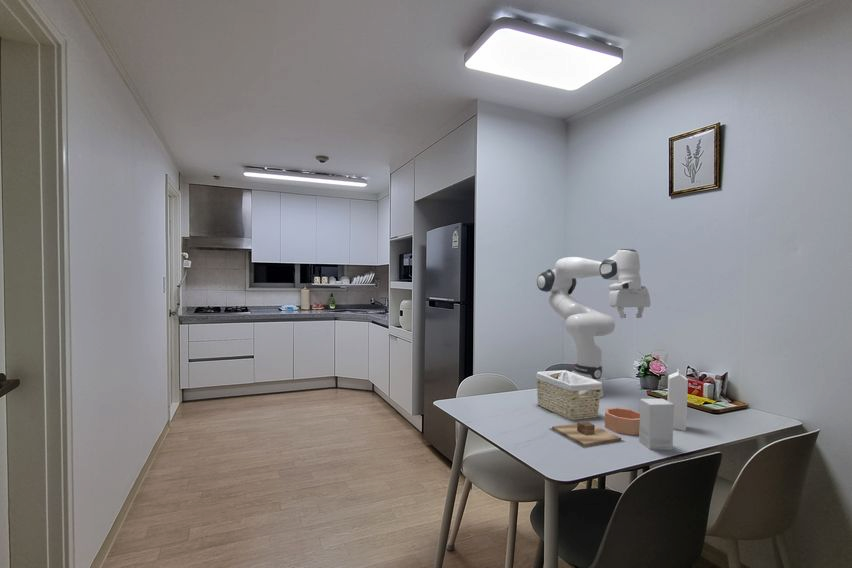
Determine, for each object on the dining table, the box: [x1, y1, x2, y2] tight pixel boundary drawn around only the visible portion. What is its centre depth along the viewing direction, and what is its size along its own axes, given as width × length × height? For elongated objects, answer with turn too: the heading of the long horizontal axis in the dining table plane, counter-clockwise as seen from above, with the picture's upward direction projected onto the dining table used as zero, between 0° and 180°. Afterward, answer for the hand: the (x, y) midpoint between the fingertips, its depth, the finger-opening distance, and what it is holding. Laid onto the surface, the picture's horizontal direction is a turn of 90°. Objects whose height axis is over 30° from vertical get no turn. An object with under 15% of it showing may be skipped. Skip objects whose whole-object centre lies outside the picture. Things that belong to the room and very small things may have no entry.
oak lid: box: [551, 420, 622, 447], centre depth 146 cm, size 16×16×4 cm
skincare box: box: [638, 398, 674, 450], centre depth 138 cm, size 8×7×16 cm
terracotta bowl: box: [604, 407, 640, 436], centre depth 154 cm, size 13×13×6 cm
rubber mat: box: [548, 427, 626, 449], centre depth 146 cm, size 18×18×1 cm
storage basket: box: [535, 369, 603, 420], centre depth 174 cm, size 24×16×15 cm
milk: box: [666, 368, 689, 432], centre depth 159 cm, size 6×6×22 cm
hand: (631, 318), depth 178 cm, fingers open, 8 cm apart
